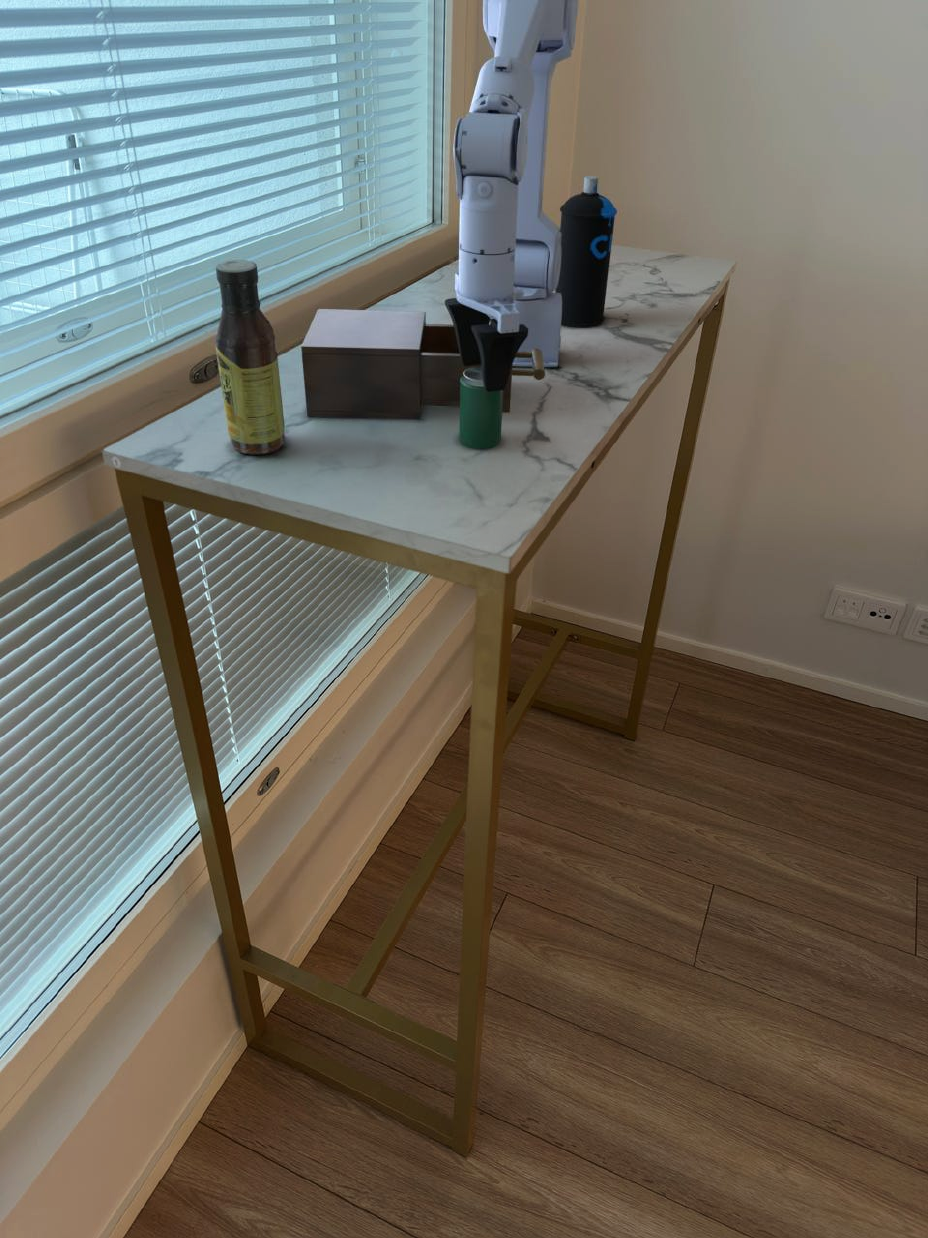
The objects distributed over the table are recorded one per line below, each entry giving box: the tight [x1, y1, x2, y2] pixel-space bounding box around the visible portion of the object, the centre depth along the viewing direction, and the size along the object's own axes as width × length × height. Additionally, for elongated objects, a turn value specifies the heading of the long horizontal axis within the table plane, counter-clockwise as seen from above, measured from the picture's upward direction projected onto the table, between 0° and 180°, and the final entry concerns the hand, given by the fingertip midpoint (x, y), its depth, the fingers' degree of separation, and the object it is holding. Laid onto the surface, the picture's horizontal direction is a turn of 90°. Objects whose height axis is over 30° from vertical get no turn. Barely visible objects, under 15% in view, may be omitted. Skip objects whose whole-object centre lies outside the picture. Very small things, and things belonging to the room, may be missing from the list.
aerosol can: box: [554, 175, 618, 328], centre depth 134 cm, size 8×8×20 cm
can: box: [458, 367, 503, 450], centre depth 102 cm, size 5×5×8 cm
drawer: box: [420, 323, 546, 414], centre depth 111 cm, size 17×12×7 cm
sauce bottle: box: [214, 259, 286, 456], centre depth 96 cm, size 6×6×20 cm
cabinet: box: [300, 308, 427, 421], centre depth 111 cm, size 14×14×9 cm
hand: (482, 376), depth 100 cm, fingers open, 7 cm apart
